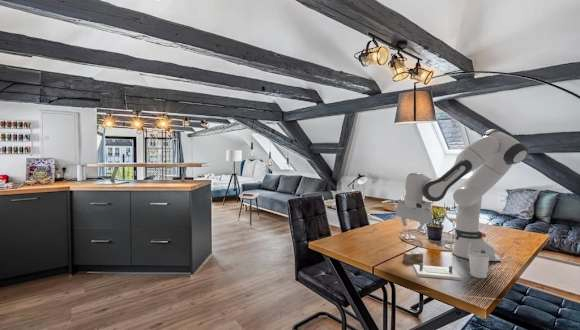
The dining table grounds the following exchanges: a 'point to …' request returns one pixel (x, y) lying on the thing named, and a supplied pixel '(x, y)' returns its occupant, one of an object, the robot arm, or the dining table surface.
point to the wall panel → (436, 272)
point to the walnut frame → (412, 257)
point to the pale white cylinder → (478, 264)
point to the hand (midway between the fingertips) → (412, 228)
